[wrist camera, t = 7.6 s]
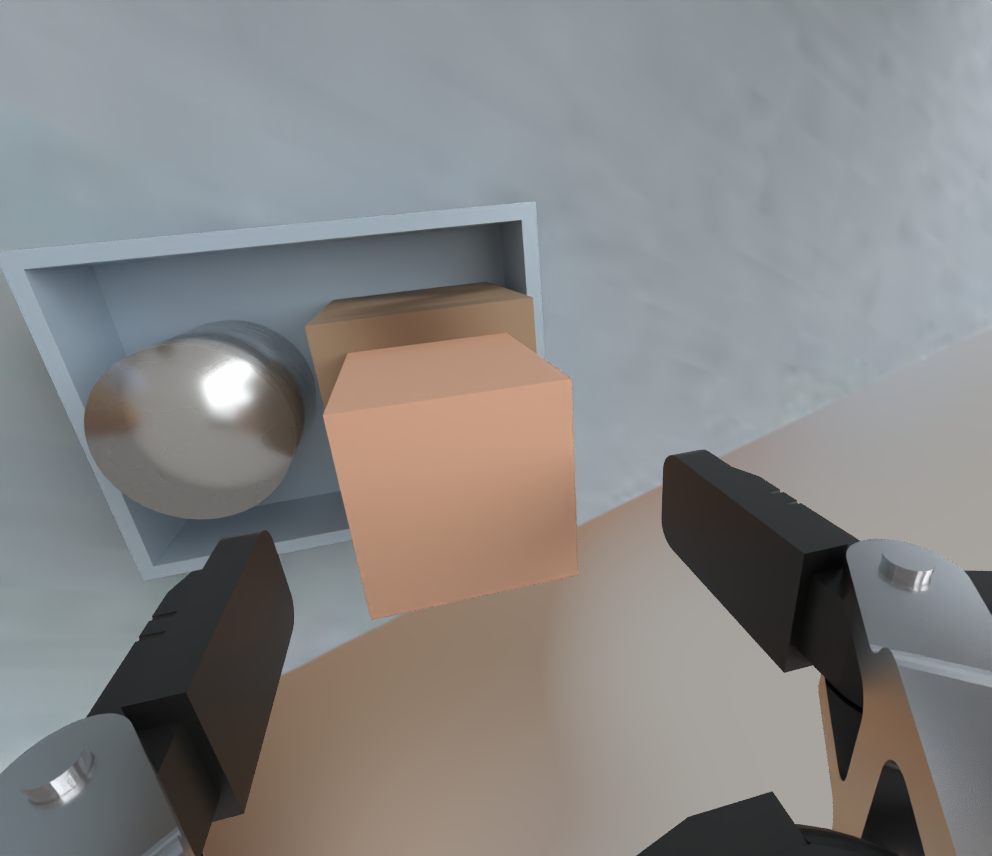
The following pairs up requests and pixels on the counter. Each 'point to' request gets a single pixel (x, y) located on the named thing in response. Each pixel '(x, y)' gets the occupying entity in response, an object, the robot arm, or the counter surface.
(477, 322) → the walnut block
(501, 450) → the peach rectangular block
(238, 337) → the grey tin
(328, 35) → the counter surface
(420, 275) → the tote
